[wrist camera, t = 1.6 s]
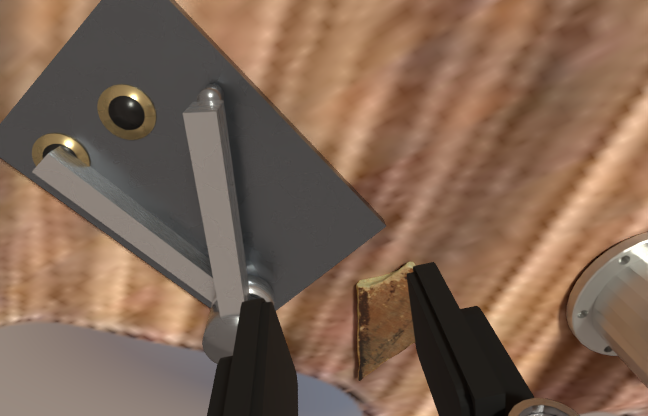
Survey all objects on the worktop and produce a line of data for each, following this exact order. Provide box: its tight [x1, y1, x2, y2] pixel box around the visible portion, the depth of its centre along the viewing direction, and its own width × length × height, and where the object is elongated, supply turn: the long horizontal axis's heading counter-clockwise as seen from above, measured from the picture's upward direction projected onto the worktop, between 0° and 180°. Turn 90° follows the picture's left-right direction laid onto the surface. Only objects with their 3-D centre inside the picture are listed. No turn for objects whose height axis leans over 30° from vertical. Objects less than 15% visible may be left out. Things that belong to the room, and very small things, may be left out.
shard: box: [356, 262, 416, 381], centre depth 33 cm, size 11×8×2 cm
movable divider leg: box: [183, 84, 266, 364], centre depth 25 cm, size 18×4×4 cm, turn 1°
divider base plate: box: [0, 0, 386, 311], centre depth 26 cm, size 21×14×3 cm, turn 41°
